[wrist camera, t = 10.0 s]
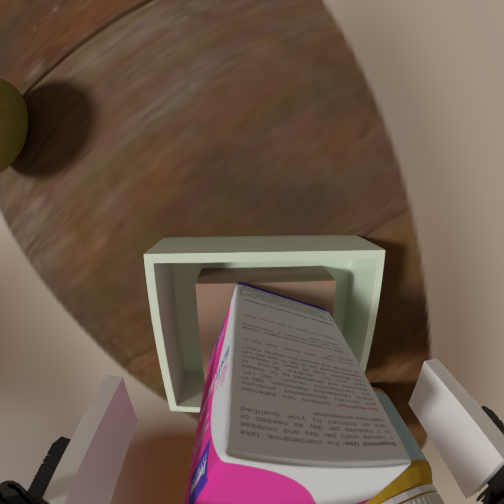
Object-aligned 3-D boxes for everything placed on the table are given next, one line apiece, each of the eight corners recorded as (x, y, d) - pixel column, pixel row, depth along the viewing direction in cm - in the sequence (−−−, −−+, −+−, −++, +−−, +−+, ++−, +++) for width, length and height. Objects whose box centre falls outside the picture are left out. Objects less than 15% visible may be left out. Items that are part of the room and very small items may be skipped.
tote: (164, 237, 19) (143, 253, 14) (355, 234, 19) (385, 250, 15) (180, 373, 21) (170, 410, 17) (339, 366, 22) (357, 401, 17)
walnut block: (201, 268, 19) (195, 283, 16) (322, 265, 19) (336, 280, 16) (208, 357, 20) (204, 382, 18) (314, 353, 21) (324, 376, 18)
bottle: (388, 373, 22) (469, 495, 8) (381, 421, 24) (436, 528, 10) (316, 393, 22) (366, 544, 8) (318, 439, 24) (353, 562, 10)
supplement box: (233, 277, 16) (224, 455, 5) (328, 307, 17) (424, 459, 5) (204, 359, 17) (178, 527, 6) (290, 381, 18) (328, 535, 7)
